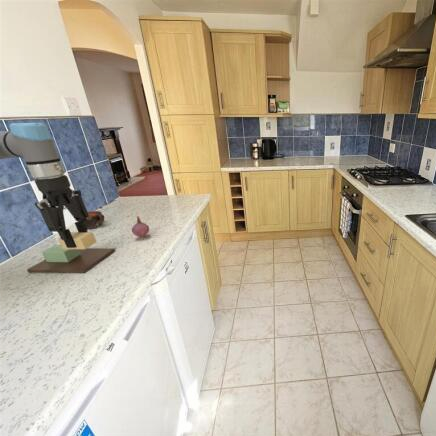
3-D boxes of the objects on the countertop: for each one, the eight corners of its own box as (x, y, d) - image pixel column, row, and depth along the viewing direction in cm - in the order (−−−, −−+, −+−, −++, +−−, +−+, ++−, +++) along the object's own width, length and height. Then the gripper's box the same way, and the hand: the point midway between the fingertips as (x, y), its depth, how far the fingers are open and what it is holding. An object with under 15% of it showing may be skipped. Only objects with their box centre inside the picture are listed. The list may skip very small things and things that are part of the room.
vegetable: (153, 236, 103) (147, 215, 99) (138, 242, 98) (131, 220, 94) (147, 233, 106) (141, 211, 102) (132, 238, 102) (125, 216, 98)
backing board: (28, 272, 81) (26, 269, 80) (66, 250, 94) (65, 248, 93) (85, 273, 80) (83, 270, 79) (115, 251, 93) (114, 248, 92)
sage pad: (46, 262, 84) (41, 252, 83) (60, 254, 89) (55, 244, 87) (68, 262, 84) (63, 252, 82) (80, 254, 89) (76, 245, 87)
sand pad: (62, 249, 82) (57, 238, 80) (75, 242, 86) (71, 232, 85) (85, 249, 81) (80, 238, 80) (96, 242, 86) (92, 232, 84)
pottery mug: (75, 231, 111) (73, 213, 112) (96, 231, 120) (94, 215, 121) (96, 226, 108) (94, 208, 109) (116, 226, 118) (113, 209, 118)
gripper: (31, 184, 66) (65, 257, 75) (86, 170, 82) (108, 231, 92) (5, 184, 66) (43, 257, 75) (65, 170, 83) (90, 231, 92)
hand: (79, 242), depth 83 cm, fingers closed on sand pad, 5 cm apart
